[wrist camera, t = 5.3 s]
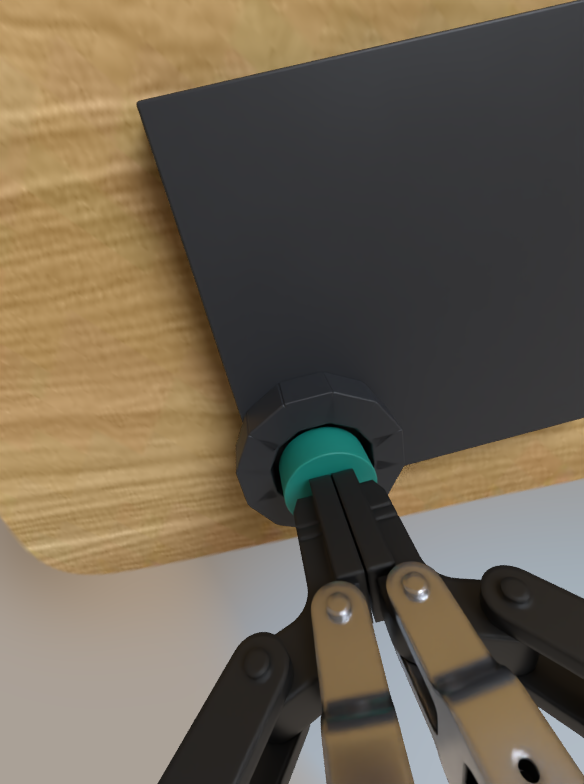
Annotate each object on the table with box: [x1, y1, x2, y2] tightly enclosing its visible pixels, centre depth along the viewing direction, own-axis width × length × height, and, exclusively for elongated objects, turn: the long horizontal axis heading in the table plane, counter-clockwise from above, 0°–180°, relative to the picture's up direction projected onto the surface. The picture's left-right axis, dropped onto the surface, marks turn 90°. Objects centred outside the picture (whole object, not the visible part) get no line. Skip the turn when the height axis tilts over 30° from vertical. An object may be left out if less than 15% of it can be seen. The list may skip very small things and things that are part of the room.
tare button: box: [279, 427, 377, 515], centre depth 13 cm, size 3×3×2 cm
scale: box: [137, 0, 584, 527], centre depth 13 cm, size 17×14×3 cm
